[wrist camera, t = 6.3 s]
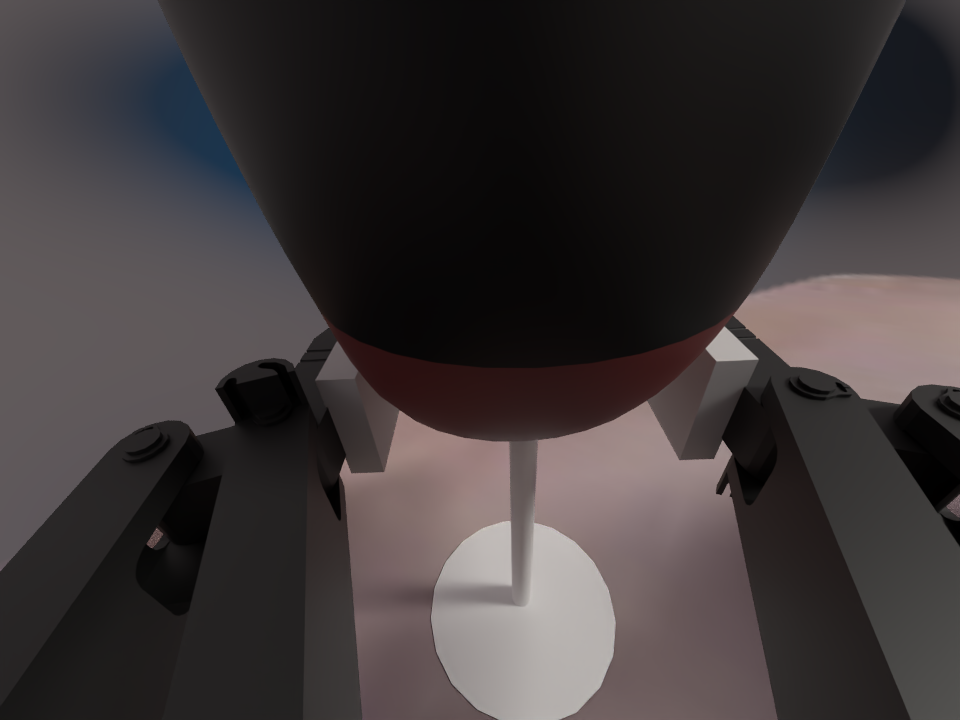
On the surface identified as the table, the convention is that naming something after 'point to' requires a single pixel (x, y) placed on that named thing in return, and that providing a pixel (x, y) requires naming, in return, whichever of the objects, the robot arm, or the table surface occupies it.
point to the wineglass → (528, 233)
